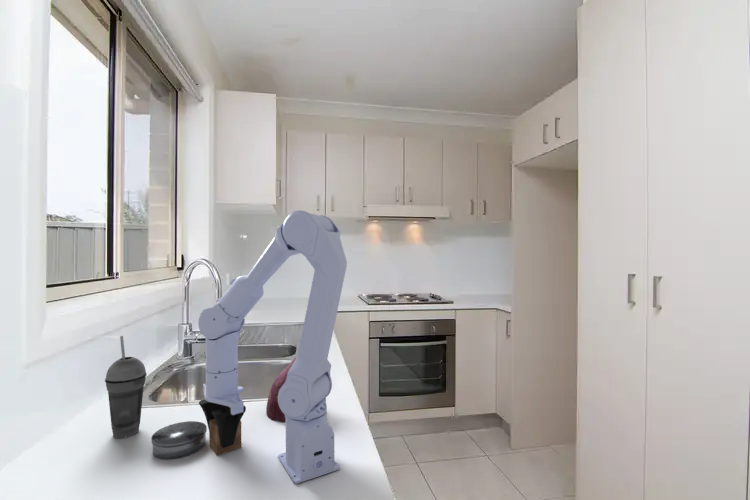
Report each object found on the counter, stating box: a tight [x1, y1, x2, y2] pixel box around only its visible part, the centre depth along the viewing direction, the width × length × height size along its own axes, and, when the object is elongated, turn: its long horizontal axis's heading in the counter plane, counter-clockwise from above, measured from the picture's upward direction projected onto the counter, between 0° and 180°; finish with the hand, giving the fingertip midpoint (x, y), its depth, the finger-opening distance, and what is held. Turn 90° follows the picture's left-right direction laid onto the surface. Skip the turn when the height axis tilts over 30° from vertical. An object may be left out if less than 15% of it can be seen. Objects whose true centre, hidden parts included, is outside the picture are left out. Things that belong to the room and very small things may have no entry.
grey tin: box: [150, 420, 208, 461], centre depth 72 cm, size 9×9×3 cm
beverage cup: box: [104, 335, 147, 439], centre depth 77 cm, size 7×7×20 cm
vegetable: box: [265, 356, 297, 423], centre depth 88 cm, size 10×10×15 cm
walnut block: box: [208, 419, 242, 457], centre depth 71 cm, size 4×4×5 cm
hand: (222, 440), depth 71 cm, fingers closed on walnut block, 5 cm apart
